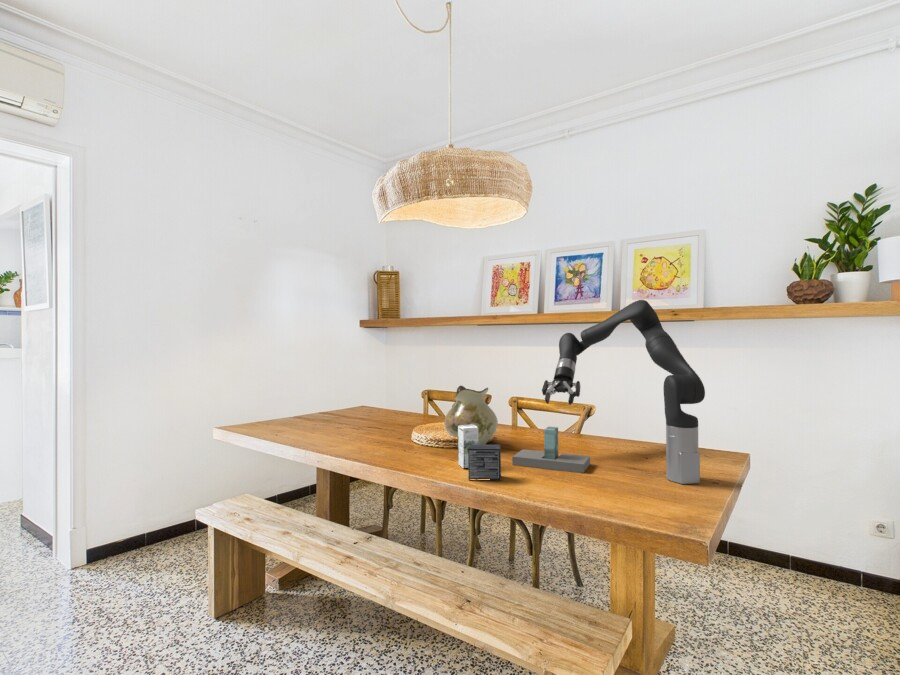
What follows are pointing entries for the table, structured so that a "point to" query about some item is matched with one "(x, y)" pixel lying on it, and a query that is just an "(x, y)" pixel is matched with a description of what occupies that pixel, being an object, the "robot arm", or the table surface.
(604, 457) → the table surface
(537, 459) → the slotted block
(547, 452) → the mint green pillar
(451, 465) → the table surface
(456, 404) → the pitcher
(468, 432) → the syrup box
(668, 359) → the robot arm
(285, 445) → the table surface
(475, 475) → the small box
